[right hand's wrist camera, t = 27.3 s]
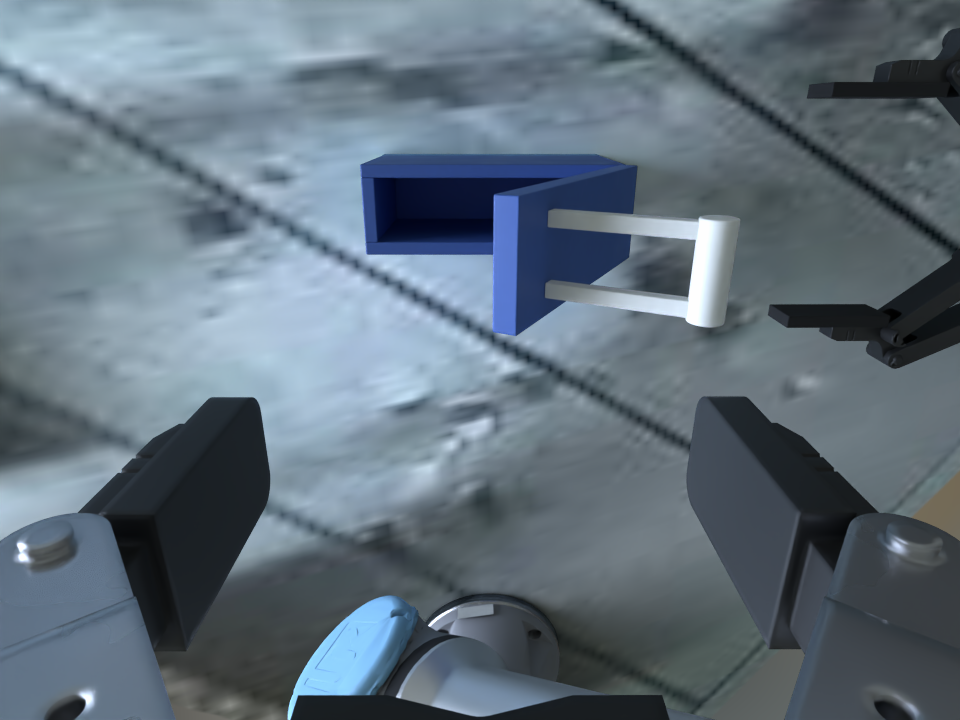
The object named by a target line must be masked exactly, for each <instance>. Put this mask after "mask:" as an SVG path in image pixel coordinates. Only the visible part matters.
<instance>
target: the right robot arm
mask: <svg viewBox="0 0 960 720" xmlns="http://www.w3.org/2000/svg"><path fill="white" fill-rule="evenodd" d="M269 491H270V470H269V463H268V456H267V450H266V443H265V436H264V430H263V423H262V416H261V410H260V406H259V404H258V402H257V400H256V399H255V398H253V397H212V398H209V399H208V400H207V401H206V402H205V403H204V404H203V405H202V406H201V407H200V408H199V409H198V410H197V411H196V412H195V413H194V414H193V416H192V417H191V418H190V419H189V420H188V421H187V422H186V423H185V424H178V425H176V426H175V427H173V428H171V429H169V430H167V431H166V432H164V433H162V434H160V435H158V436H156V437H155V438H153V439H152V440H151V441H150V442H149V443H148V444H147V445H146V446H145V447H144V448H143V449H142V450H141V451H140V452H139V453H138V454H137V455H136V459H132V460H131V461H130V462H129V463H128V464H127V465H125V466H124V467H123V468H122V472H121V473H117V474H116V475H115V476H114V477H113V478H112V479H111V480H110V481H109V482H108V483H107V484H106V485H105V486H104V487H103V488H102V489H101V490H100V491H99V492H98V493H97V494H96V495H95V496H94V497H93V498H92V499H91V500H90V501H89V502H88V503H87V504H86V505H85V506H84V507H83V508H82V509H81V510H80V511H79V512H78V513H72V514H64V515H59V516H54V517H51V518H47V519H44V520H41V521H38V522H35V523H33V524H30V525H28V526H25V527H23V528H21V529H19V530H17V531H15V532H13V533H12V534H10V535H9V536H7V537H5V538H4V539H2V540H1V541H0V720H176V719H175V716H174V713H173V710H172V707H171V703H170V700H169V697H168V694H167V691H166V688H165V685H164V682H163V679H162V676H161V673H160V669H159V666H158V663H157V660H156V657H155V654H154V651H187V649H188V647H189V645H190V643H191V642H192V640H193V638H194V636H195V634H196V632H197V631H198V629H199V627H200V625H201V623H202V621H203V620H204V618H205V616H206V614H207V612H208V611H209V609H210V607H211V605H212V603H213V601H214V600H215V598H216V596H217V594H218V592H219V591H220V589H221V587H222V585H223V583H224V581H225V580H226V578H227V576H228V574H229V572H230V570H231V569H232V567H233V565H234V563H235V561H236V560H237V558H238V556H239V554H240V552H241V550H242V549H243V547H244V545H245V543H246V541H247V539H248V538H249V536H250V534H251V532H252V530H253V529H254V527H255V525H256V523H257V521H258V519H259V518H260V516H261V514H262V512H263V510H264V508H265V506H266V504H267V501H268V497H269ZM687 491H688V496H689V500H690V503H691V506H692V508H693V510H694V511H695V513H696V515H697V517H698V519H699V521H700V523H701V524H702V526H703V528H704V530H705V532H706V534H707V535H708V537H709V539H710V541H711V543H712V545H713V547H714V548H715V550H716V552H717V554H718V556H719V558H720V559H721V561H722V563H723V565H724V567H725V569H726V571H727V572H728V574H729V576H730V578H731V580H732V582H733V583H734V585H735V587H736V589H737V591H738V593H739V594H740V596H741V598H742V600H743V602H744V604H745V606H746V607H747V609H748V611H749V613H750V615H751V617H752V618H753V620H754V622H755V624H756V626H757V628H758V630H759V631H760V633H761V635H762V637H763V639H764V641H765V642H766V644H767V646H768V648H769V649H802V650H803V652H804V654H805V657H804V660H803V663H802V666H801V669H800V673H799V676H798V679H797V682H796V685H795V688H794V691H793V694H792V697H791V701H790V704H789V707H788V710H787V713H786V716H785V719H784V720H960V541H959V540H957V539H956V538H955V537H953V536H951V535H950V534H948V533H947V532H945V531H943V530H941V529H939V528H937V527H935V526H932V525H930V524H927V523H925V522H922V521H919V520H916V519H913V518H909V517H906V516H901V515H896V514H888V513H879V512H878V511H877V510H876V509H875V508H874V507H873V506H871V505H870V504H869V503H868V502H867V501H866V500H865V499H864V498H863V497H862V496H861V495H860V494H859V493H858V492H857V491H856V490H855V489H854V488H853V487H852V486H851V485H850V484H849V483H848V482H847V481H846V480H845V479H844V478H843V477H842V476H841V475H840V474H839V473H838V472H834V468H833V467H832V466H831V465H830V464H829V463H828V462H827V461H826V460H825V459H824V458H823V457H820V454H819V453H818V452H817V451H816V450H815V449H814V448H813V447H812V446H811V445H810V444H809V443H808V442H807V441H806V440H805V439H804V438H803V437H802V436H800V435H798V434H796V433H794V432H792V431H791V430H789V429H787V428H785V427H783V426H782V425H780V424H778V423H771V422H770V421H769V420H768V419H767V418H766V417H765V416H764V414H763V413H762V412H761V411H760V410H759V409H758V408H757V407H756V406H755V405H754V404H753V403H752V402H751V401H750V400H749V399H748V398H747V397H702V398H701V399H700V400H699V402H698V404H697V408H696V413H695V420H694V427H693V434H692V440H691V447H690V454H689V461H688V468H687ZM290 720H670V719H669V716H668V713H667V709H666V706H665V703H664V700H663V697H662V695H571V696H567V697H563V698H559V699H555V700H551V701H547V702H543V703H539V704H535V705H530V706H526V707H522V708H518V709H514V710H510V711H506V712H502V713H498V714H494V715H490V716H470V715H466V714H462V713H458V712H454V711H450V710H446V709H442V708H438V707H434V706H430V705H425V704H421V703H417V702H413V701H409V700H405V699H401V698H397V697H393V696H389V695H298V697H297V700H296V703H295V706H294V709H293V713H292V716H291V719H290Z"/></svg>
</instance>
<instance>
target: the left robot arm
mask: <svg viewBox="0 0 960 720" xmlns="http://www.w3.org/2000/svg"><path fill="white" fill-rule="evenodd" d="M942 45H943V49H942V51H941V53H940V54H939V56H938V57H937V58H936V59H934V60H899V61H892V62H885V63H883V64H881V65H878V66H876V70H875V75H874V80H873V82H831V83H822V84H812V85H809V90H808V96H807V98H842V99H915V98H935V97H937V99H938V100H939V101H940V102H941V103H942V105H943V106H944V107H945V108H946V110H947V111H948V112H949V113H950V114H951V116H952V117H953V118H954V119H955V120H956V122H957V123H958V124H959V125H960V28H957V29H952V30H950V31H949V32H948V33H947V34H946V35H945V36H944V38H943V42H942ZM958 301H960V249H958V250H957V251H955V252H954V253H953V254H952V259H951V260H950V261H949V262H947V263H946V264H944V265H943V266H941V267H940V268H938V269H937V270H935V271H934V272H933V273H931V274H930V275H928V276H927V277H925V278H924V279H922V280H921V281H919V282H918V283H916V284H915V285H914V286H912V287H911V288H909V289H908V290H906V291H905V292H903V293H902V294H900V295H899V296H897V297H896V298H895V299H893V300H892V301H890V302H889V303H887V304H886V305H884V306H883V307H881V308H880V309H878V310H876V309H874V308H872V307H870V306H868V305H866V304H791V305H770V307H769V312H768V315H769V316H770V317H772V318H773V319H775V320H776V321H778V322H779V323H781V324H782V325H784V326H785V327H787V328H820V330H819V331H820V332H821V333H823V334H825V335H826V336H828V337H829V338H831V339H834V340H836V341H869V344H868V345H867V347H866V352H867V353H868V354H869V355H871V356H872V357H874V358H876V359H877V360H879V361H881V362H882V363H884V364H886V365H888V366H889V367H891V368H895V369H896V368H900V367H902V366H905V365H907V364H909V363H912V362H914V361H917V360H919V359H921V358H924V357H926V356H929V355H931V354H933V353H936V352H938V351H941V350H943V349H945V348H948V347H950V346H953V345H955V344H957V343H960V303H959V304H957V305H955V306H952V305H954V304H955V303H957V302H958ZM951 306H952V307H951ZM949 307H950V308H949ZM559 665H560V652H559V645H558V638H557V635H556V632H555V629H554V627H553V626H552V624H551V622H550V621H549V620H548V618H547V617H546V616H545V615H544V614H543V613H542V612H541V611H539V610H538V609H537V608H535V607H534V606H532V605H530V604H529V603H527V602H524V601H522V600H520V599H517V598H514V597H510V596H505V595H498V594H478V595H471V596H467V597H463V598H460V599H457V600H454V601H452V602H450V603H448V604H446V605H444V606H443V607H441V608H440V609H438V610H437V611H436V612H435V613H434V614H432V616H431V617H430V618H429V619H428V620H427V621H426V623H425V622H424V621H423V620H422V619H421V618H420V616H419V614H418V610H416V609H415V607H414V606H413V607H412V606H410V605H409V604H408V603H407V602H405V601H404V600H403V599H402V598H400V597H397V596H391V595H390V596H383V597H379V598H376V599H374V600H372V601H370V602H368V603H366V604H364V605H363V606H361V607H360V608H358V609H357V610H356V611H354V612H353V613H352V614H351V615H350V616H348V617H347V618H346V619H345V620H343V621H342V622H341V623H340V624H339V625H338V626H337V627H336V628H335V629H334V630H333V631H332V633H331V634H330V635H329V636H328V637H327V638H326V639H325V640H324V642H323V643H322V644H321V645H320V647H319V648H318V649H317V651H316V652H315V653H314V655H313V656H312V658H311V659H310V661H309V662H308V664H307V665H306V667H305V669H304V670H303V672H302V674H301V676H300V678H299V680H298V682H297V684H296V686H295V689H294V694H293V696H292V698H291V701H290V705H289V710H288V720H290V719H291V716H292V713H293V709H294V706H295V703H296V700H297V697H298V695H389V696H393V697H397V698H401V699H405V700H409V701H413V702H417V703H421V704H425V705H430V706H434V707H438V708H442V709H446V710H450V711H454V712H458V713H462V714H466V715H470V716H490V715H494V714H498V713H502V712H506V711H510V710H514V709H518V708H522V707H526V706H530V705H535V704H539V703H543V702H547V701H551V700H555V699H559V698H563V697H567V696H571V695H609V694H605V693H600V692H596V691H592V690H588V689H583V688H579V687H575V686H571V685H567V684H562V683H558V682H556V681H557V676H558V672H559ZM666 709H667V713H668V716H669V719H670V720H715V719H710V718H706V717H702V716H698V715H693V714H689V713H685V712H681V711H676V710H672V709H668V708H666Z"/></svg>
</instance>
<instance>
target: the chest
mask: <svg viewBox="0 0 960 720" xmlns="http://www.w3.org/2000/svg"><path fill="white" fill-rule="evenodd" d="M618 165H625V164H622V163H619V162H616V161H613V160H610V159H607V158H604V157H601V156H599V155H597V154H384V155H382V156H381V157H378V158H376V159H373V160H371V161H368V162H366V163H364V164H361V165H360V169H361V177H362V178H361V184H362V199H363V213H364V227H365V241H366V254H404V255H493V243H494V194H497V193H502V192H506V191H510V190H515V189H519V188H523V187H528V186H532V185H536V184H541V183H545V182H549V181H553V180H558V179H562V178H566V177H571V176H575V175H579V174H584V173H588V172H592V171H597V170H601V169H605V168H610V167H614V166H618Z"/></svg>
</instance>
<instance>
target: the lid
mask: <svg viewBox="0 0 960 720" xmlns="http://www.w3.org/2000/svg"><path fill="white" fill-rule="evenodd" d="M636 176H637V166H635V165H618V166H614V167H610V168H605V169H601V170H597V171H592V172H588V173H584V174H579V175H575V176H571V177H566V178H562V179H558V180H553V181H549V182H545V183H541V184H536V185H532V186H528V187H523V188H519V189H515V190H510V191H506V192H502V193H497V194H494V243H493V332H496V333H502V334H508V335H514V336H517V335H518V334H520V333H521V332H522V331H524V330H525V329H527V328H528V327H530V326H531V325H532V324H534V323H535V322H537V321H538V320H540V319H541V318H543V317H544V316H545V315H547V314H548V313H550V312H551V311H553V310H554V309H555V308H557V307H558V306H560V305H561V304H563V303H564V302H566V301H570V302H577V303H584V304H592V305H599V306H606V307H613V308H620V309H627V310H634V311H641V312H648V313H655V314H662V315H669V316H676V317H684V318H686V321H687V322H688V323H690V324H693V325H696V326H701V327H719V326H722V325H723V324H724V322H725V316H726V310H727V303H728V297H729V290H730V284H731V278H732V271H733V265H734V258H735V252H736V246H737V239H738V233H739V227H740V219H739V218H737V217H733V216H726V215H704V216H701V217H699V219H692V218H678V217H664V216H650V215H636V214H633V209H634V198H635V187H636ZM631 234H632V235H644V236H655V237H667V238H678V239H690V240H696V244H695V252H694V259H693V267H692V275H691V282H690V290H689V297H684V296H676V295H668V294H660V293H652V292H644V291H636V290H629V289H621V288H613V287H605V286H597V285H590V284H591V283H593V282H594V281H596V280H597V279H599V278H600V277H601V276H603V275H604V274H606V273H607V272H609V271H610V270H612V269H613V268H614V267H616V266H617V265H619V264H620V263H622V262H623V261H625V260H626V259H627V258H629V252H630V241H631Z"/></svg>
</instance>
